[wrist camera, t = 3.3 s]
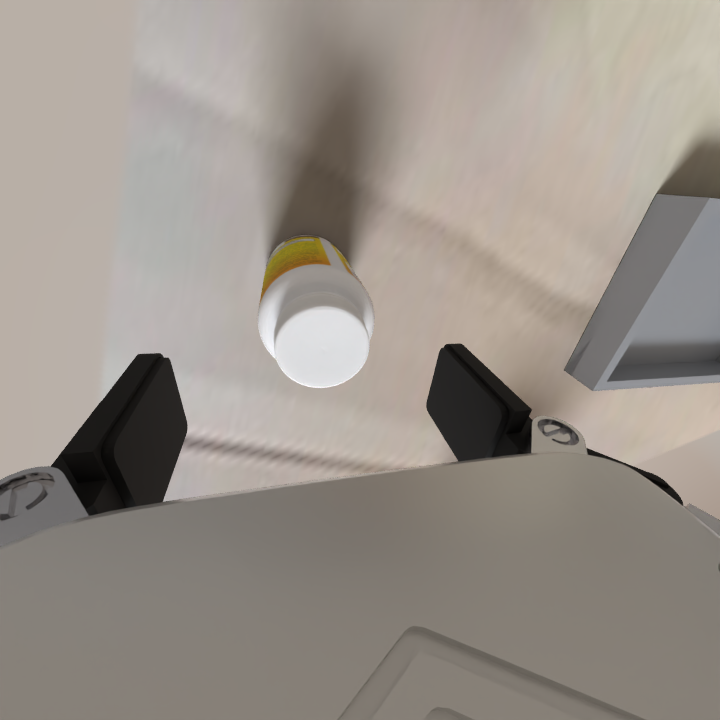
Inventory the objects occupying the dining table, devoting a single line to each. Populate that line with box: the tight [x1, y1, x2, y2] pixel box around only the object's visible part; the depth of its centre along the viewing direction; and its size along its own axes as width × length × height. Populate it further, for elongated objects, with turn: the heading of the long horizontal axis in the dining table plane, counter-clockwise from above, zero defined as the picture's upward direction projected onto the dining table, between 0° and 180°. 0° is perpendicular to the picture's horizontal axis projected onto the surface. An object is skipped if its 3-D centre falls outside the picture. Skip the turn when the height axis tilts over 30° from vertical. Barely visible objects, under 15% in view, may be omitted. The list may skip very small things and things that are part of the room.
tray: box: [564, 194, 720, 391], centre depth 28 cm, size 16×20×4 cm
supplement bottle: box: [258, 235, 375, 388], centre depth 17 cm, size 6×6×10 cm
